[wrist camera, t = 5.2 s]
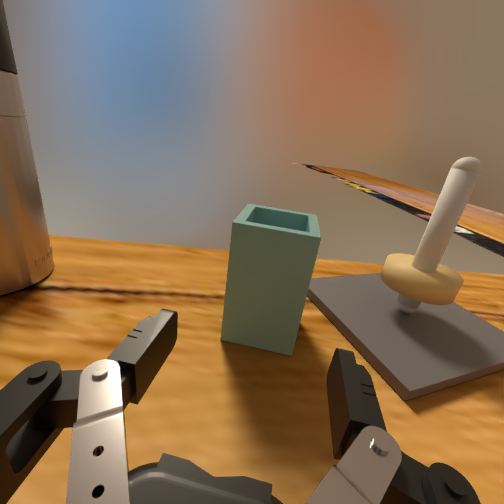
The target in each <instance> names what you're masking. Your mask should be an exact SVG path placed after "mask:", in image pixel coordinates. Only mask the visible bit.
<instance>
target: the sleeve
mask: <svg viewBox="0 0 504 504" xmlns="http://www.w3.org/2000/svg"><path fill="white" fill-rule="evenodd" d="M320 240H321V234H320V230H319V224H318V220H317V215H314V214H308V213H302V212H295V211H290V210H284V209H278V208H272V207H266V206H260V205H254V204H248V205H247V206H246V207H245V208H244V210H243V211H242V212H241V213H240V214H239V216H238V217H237V218H236V219H235V220H234V221H233V224H232V234H231V244H230V253H229V263H228V273H227V282H226V292H225V302H224V312H223V321H222V331H221V340H224V341H228V342H233V343H237V344H241V345H246V346H250V347H254V348H259V349H263V350H268V351H272V352H276V353H281V354H285V355H290V356H292V353H293V349H294V345H295V341H296V337H297V333H298V329H299V325H300V321H301V317H302V313H303V309H304V305H305V301H306V297H307V293H308V289H309V285H310V281H311V277H312V273H313V269H314V265H315V261H316V256H317V252H318V248H319V244H320Z"/></svg>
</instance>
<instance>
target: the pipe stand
mask: <svg viewBox="0 0 504 504" xmlns="http://www.w3.org/2000/svg"><path fill="white" fill-rule="evenodd" d="M481 170H482V165H481V162H480V161H479V160H478V159H476V158H474V157H465V158H461V159H459V160H457V161H456V162H455V163H454V164H453V165H452V167H451V169H450V172H449V174H448V177H447V179H446V182H445V184H444V187H443V189H442V191H441V194H440V196H439V199H438V201H437V203H436V206H435V208H434V211H433V213H432V216H431V218H430V220H429V223H428V225H427V228H426V230H425V233H424V235H423V237H422V240H421V242H420V245H419V247H418V249H417V252H416V254H415V256H414V255H408V254H390V255H388V256H387V259H386V261H385V264H384V267H383V269H382V272H381V273H375V274H362V275H349V276H336V277H323V278H311V281H310V285H309V289H308V293H307V296H308V297H309V298H310V299H311V301H312V302H313V303H314V304H315V305H316V306H317V307H318V308H319V309H320V310H321V311H322V312H323V314H324V315H325V316H326V317H327V318H328V319H329V320H330V321H331V322H332V323H333V324H334V325H335V327H336V328H337V329H338V330H339V331H340V332H341V333H342V334H343V335H344V336H345V337H346V338H347V340H348V341H349V342H350V343H351V344H352V345H353V346H354V347H355V348H356V349H357V350H358V351H359V353H360V354H361V355H362V356H363V357H364V358H365V359H366V360H367V361H368V362H369V363H370V364H371V366H372V367H373V368H374V369H375V370H376V371H377V372H378V373H379V374H380V375H381V376H382V377H383V379H384V380H385V381H386V382H387V383H388V384H389V385H390V386H391V387H392V388H393V389H394V390H395V392H396V393H397V394H398V395H399V396H400V397H401V398H402V399H403V400H404V401H407V400H410V399H413V398H416V397H419V396H422V395H426V394H429V393H432V392H435V391H438V390H441V389H444V388H447V387H451V386H454V385H457V384H460V383H463V382H466V381H469V380H472V379H475V378H479V377H482V376H485V375H488V374H491V373H494V372H497V371H500V370H504V332H503V331H502V330H500V329H498V328H496V327H495V326H493V325H491V324H490V323H488V322H486V321H485V320H483V319H481V318H479V317H478V316H476V315H474V314H473V313H471V312H469V311H468V310H466V309H464V308H463V307H461V306H459V305H457V304H456V303H454V302H453V301H454V299H455V297H456V295H457V293H458V291H459V289H460V288H461V286H462V284H463V278H462V277H461V276H460V275H459V274H458V273H456V272H455V271H453V270H452V269H450V268H448V267H446V266H444V265H442V264H440V263H439V262H440V260H441V258H442V256H443V254H444V251H445V249H446V247H447V245H448V243H449V240H450V238H451V236H452V234H453V232H454V230H455V227H456V225H457V223H458V221H459V219H460V216H461V214H462V212H463V210H464V208H465V206H466V203H467V201H468V199H469V197H470V195H471V192H472V190H473V188H474V186H475V184H476V182H477V179H478V177H479V175H480V173H481Z"/></svg>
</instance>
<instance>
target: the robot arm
mask: <svg viewBox="0 0 504 504" xmlns="http://www.w3.org/2000/svg"><path fill="white" fill-rule="evenodd" d="M16 75H17V69H16V64H15V60H14V55H13V50H12V45H11V41H10V36H9V31H8V26H7V21H6V15H5V10H4V5H3V0H0V295H3V294H8V293H11V292H14V291H17V290H21V289H23V288H26V287H28V286H31V285H33V284H35V283H37V282H39V281H41V280H42V279H44V278H45V277H46V276H48V275H49V274H50V273H51V272H52V270H53V268H54V262H53V256H52V248H51V244H50V240H49V235H48V230H47V224H46V219H45V214H44V208H43V203H42V198H41V193H40V188H39V182H38V177H37V172H36V167H35V161H34V156H33V151H32V146H31V141H30V136H29V130H28V125H27V120H26V117H25V116H26V115H25V110H24V105H23V99H22V94H21V89H20V84H19V79H18V76H16ZM177 319H178V314H177V312H175V311H171V310H166V309H161V310H160V311H159V312H158V313H157V315H156V316H155V317H150V316H149V317H147V318H146V319H144V320H142V321H140V322H139V323H138V324H137V326H136V327H135V328H134V329H133V331H131V332H130V333H129V334H128V336H127V337H126V338H125V339H124V340H123V341H122V342H121V343H120V344H119V345H118V346H117V348H116V349H115V350H114V351H113V352H112V353H111V354H110V355H109V356H108V358H107V359H105V360H99V361H96V362H94V363H92V364H90V365H89V366H87V367H86V368H85V369H84V370H69V371H61V368H60V365H59V364H58V363H57V362H54V361H42V362H38V363H35V364H33V365H31V366H29V367H27V368H26V369H24V370H23V371H22V372H21V373H19V374H18V375H17V376H16V377H15V378H14V379H13V380H11V381H10V382H9V383H8V384H7V385H6V386H5V387H4V388H2V389H1V390H0V504H6V503H7V502H8V501H9V499H10V498H11V497H12V495H13V494H14V493H15V491H16V490H17V489H18V488H19V486H20V485H21V484H22V482H23V481H24V480H25V478H26V477H27V476H28V474H29V473H30V472H31V471H32V469H33V468H34V467H35V465H36V464H37V463H38V461H39V460H40V459H41V458H42V456H43V455H44V454H45V452H46V451H47V450H48V448H49V447H50V446H51V444H52V443H53V442H54V441H55V439H56V438H57V437H58V435H59V434H60V433H61V431H62V430H63V429H64V428H68V427H73V430H72V441H71V453H70V464H69V476H68V487H67V498H66V504H283V503H282V502H280V501H279V500H278V499H277V498H276V497H274V496H273V495H271V492H272V484H270V483H266V482H263V481H259V480H256V479H252V478H249V477H245V476H236V477H214V476H212V475H210V474H209V473H207V472H206V471H204V470H203V469H201V468H200V467H198V466H197V465H195V464H194V463H192V462H191V461H189V460H186V459H183V458H179V457H176V456H172V455H169V454H165V453H163V454H162V456H161V458H160V461H159V462H155V463H149V464H145V465H142V466H139V467H137V468H135V469H133V470H131V471H129V467H128V455H127V443H126V430H125V418H124V409H125V408H126V406H127V405H128V403H129V402H130V403H134V404H138V403H139V401H140V400H141V398H142V397H143V395H144V393H145V392H146V390H147V389H148V387H149V386H150V384H151V382H152V381H153V379H154V378H155V376H156V374H157V373H158V371H159V370H160V368H161V366H162V365H163V363H164V362H165V360H166V359H167V357H168V355H169V354H170V352H171V351H172V349H173V347H174V345H175V343H176V339H177ZM327 393H328V403H329V413H330V424H331V434H332V444H333V455H334V458H335V459H338V460H340V461H339V463H338V464H337V465H336V466H335V465H334V466H333V467H332V468H331V469H330V471H329V472H328V473H327V475H326V476H325V477H324V479H323V480H322V481H321V483H320V484H319V485H318V487H317V488H316V489H315V491H314V492H313V493H312V495H311V496H310V498H309V499H308V500H307V502H306V503H305V504H481V503H480V501H479V499H478V496H477V494H476V492H475V490H474V489H473V487H472V486H471V484H470V483H469V482H468V481H467V479H466V478H465V477H464V476H463V475H462V474H461V473H459V472H458V471H457V470H455V469H454V468H452V467H451V466H449V465H446V464H444V463H433V464H432V465H431V466H430V467H429V468H428V467H427V466H425V465H423V464H421V463H420V462H418V461H416V460H414V459H413V458H411V457H409V456H408V455H406V454H405V453H403V452H402V451H401V450H400V448H399V445H398V444H397V442H396V441H395V439H394V438H393V437H392V436H391V435H390V434H389V433H387V430H386V427H385V423H384V420H383V417H382V413H381V410H380V406H379V403H378V399H377V397H376V392H375V389H374V385H373V382H372V378H371V376H370V374H369V373H368V371H367V370H366V369H365V367H364V366H362V365H358V364H356V360H355V356H354V353H353V352H352V351H347V350H343V349H339V348H336V350H335V352H334V355H333V358H332V361H331V364H330V367H329V370H328V374H327Z"/></svg>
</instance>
